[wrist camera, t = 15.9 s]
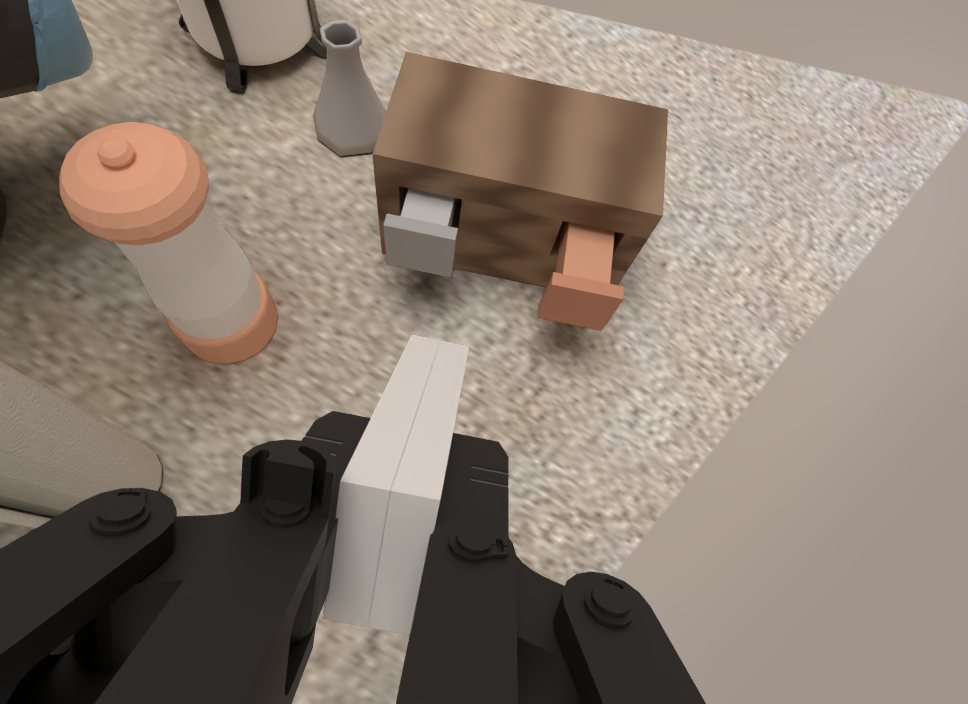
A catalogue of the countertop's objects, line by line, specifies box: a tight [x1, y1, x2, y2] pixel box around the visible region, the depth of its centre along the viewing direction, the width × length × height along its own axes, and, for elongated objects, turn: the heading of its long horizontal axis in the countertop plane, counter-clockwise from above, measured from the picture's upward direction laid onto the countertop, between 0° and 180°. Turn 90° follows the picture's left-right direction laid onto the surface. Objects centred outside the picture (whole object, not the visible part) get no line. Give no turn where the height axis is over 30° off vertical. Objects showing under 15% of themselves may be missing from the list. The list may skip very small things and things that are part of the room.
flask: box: [313, 19, 386, 156], centre depth 49 cm, size 7×7×10 cm
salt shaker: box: [59, 122, 278, 364], centre depth 36 cm, size 7×7×19 cm
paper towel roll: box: [0, 362, 162, 528], centre depth 29 cm, size 7×6×21 cm
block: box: [373, 52, 668, 287], centre depth 46 cm, size 20×10×12 cm, turn 80°
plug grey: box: [383, 188, 458, 277], centre depth 44 cm, size 5×14×5 cm, turn 170°
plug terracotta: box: [537, 221, 624, 331], centre depth 43 cm, size 5×14×5 cm, turn 170°
